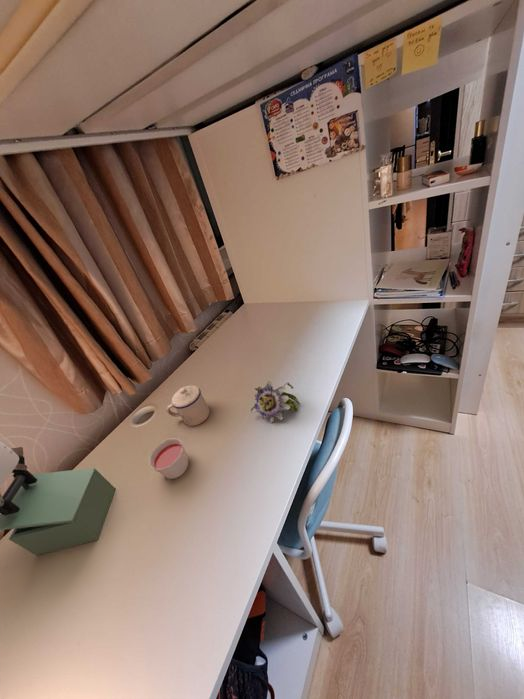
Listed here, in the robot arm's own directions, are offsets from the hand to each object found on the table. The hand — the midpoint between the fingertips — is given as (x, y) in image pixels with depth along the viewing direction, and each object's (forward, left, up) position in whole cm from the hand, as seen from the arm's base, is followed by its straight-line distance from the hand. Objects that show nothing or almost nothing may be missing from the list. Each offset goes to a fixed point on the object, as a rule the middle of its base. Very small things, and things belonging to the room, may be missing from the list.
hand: (22, 496), depth 65 cm
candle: (+18, +25, -14) cm, 34 cm away
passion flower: (+34, +52, -14) cm, 64 cm away
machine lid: (+4, +3, -3) cm, 5 cm away
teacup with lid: (+9, +40, -14) cm, 43 cm away
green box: (+4, +3, -14) cm, 14 cm away
